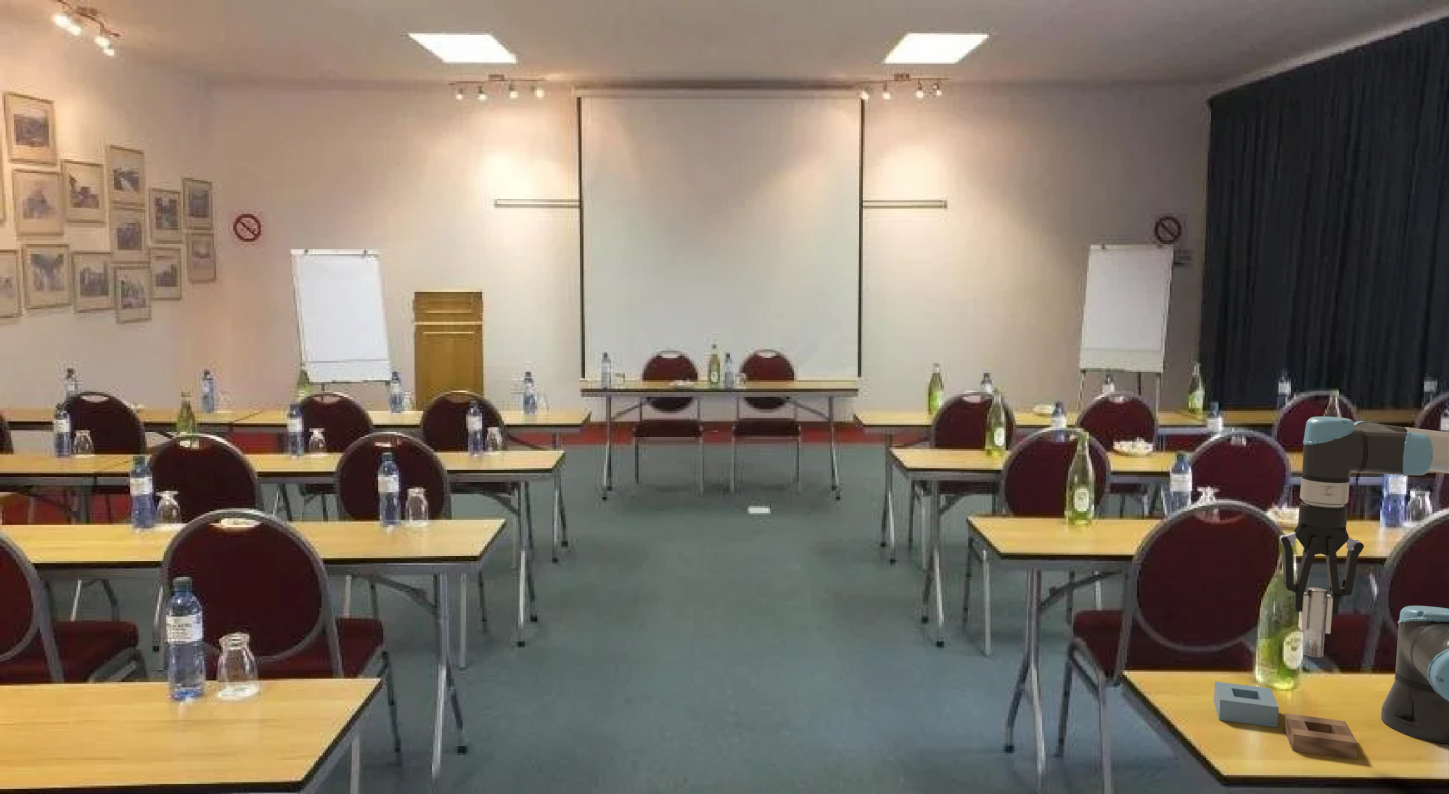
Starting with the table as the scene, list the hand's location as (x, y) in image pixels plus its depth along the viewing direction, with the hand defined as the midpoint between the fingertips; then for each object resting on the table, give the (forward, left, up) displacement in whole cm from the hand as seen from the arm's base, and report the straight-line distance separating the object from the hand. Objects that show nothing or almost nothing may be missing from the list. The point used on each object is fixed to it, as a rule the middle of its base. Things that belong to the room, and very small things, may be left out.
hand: (1314, 629), depth 188 cm
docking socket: (+9, -9, -21) cm, 24 cm away
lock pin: (0, 0, -5) cm, 5 cm away
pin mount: (-2, +1, -21) cm, 21 cm away
